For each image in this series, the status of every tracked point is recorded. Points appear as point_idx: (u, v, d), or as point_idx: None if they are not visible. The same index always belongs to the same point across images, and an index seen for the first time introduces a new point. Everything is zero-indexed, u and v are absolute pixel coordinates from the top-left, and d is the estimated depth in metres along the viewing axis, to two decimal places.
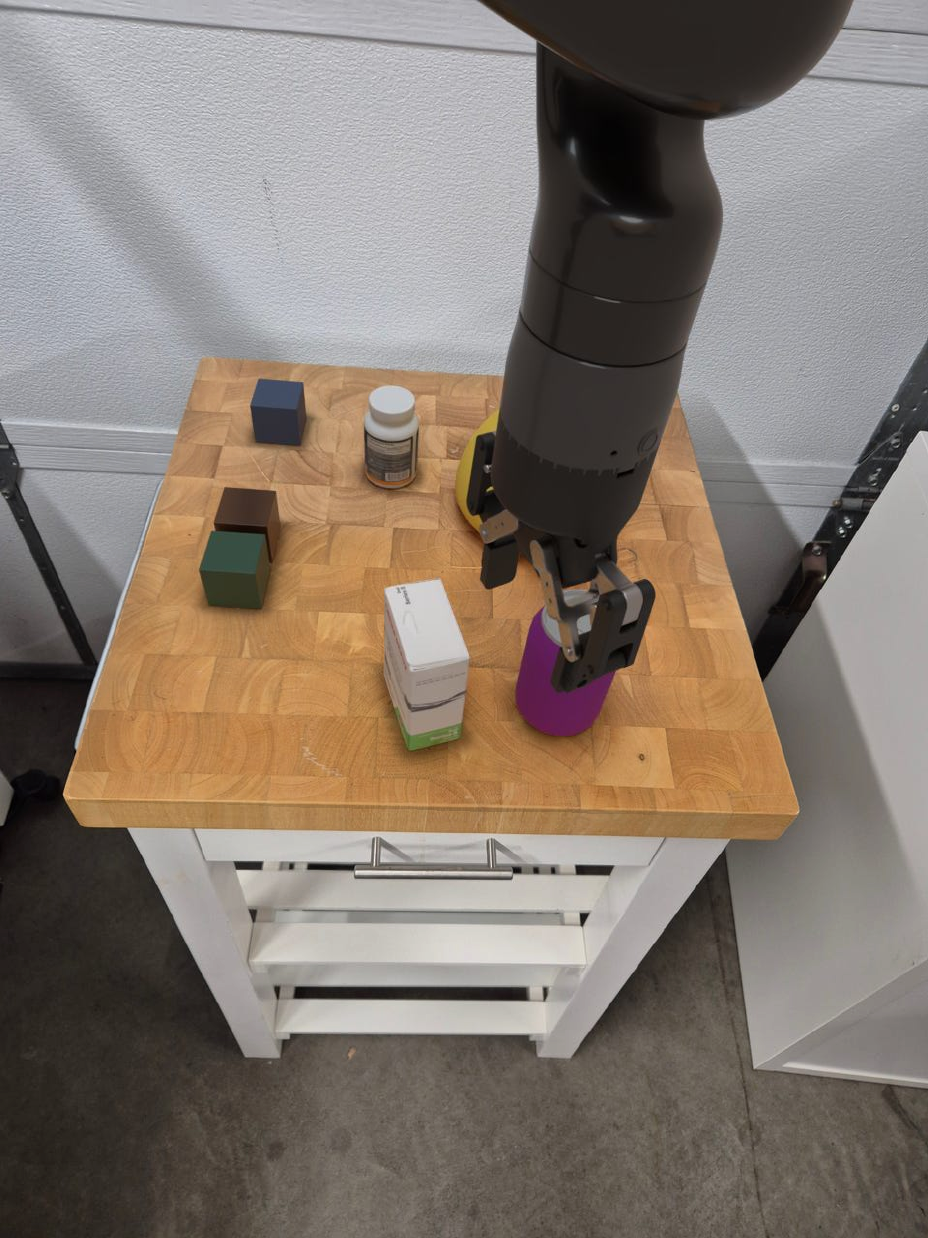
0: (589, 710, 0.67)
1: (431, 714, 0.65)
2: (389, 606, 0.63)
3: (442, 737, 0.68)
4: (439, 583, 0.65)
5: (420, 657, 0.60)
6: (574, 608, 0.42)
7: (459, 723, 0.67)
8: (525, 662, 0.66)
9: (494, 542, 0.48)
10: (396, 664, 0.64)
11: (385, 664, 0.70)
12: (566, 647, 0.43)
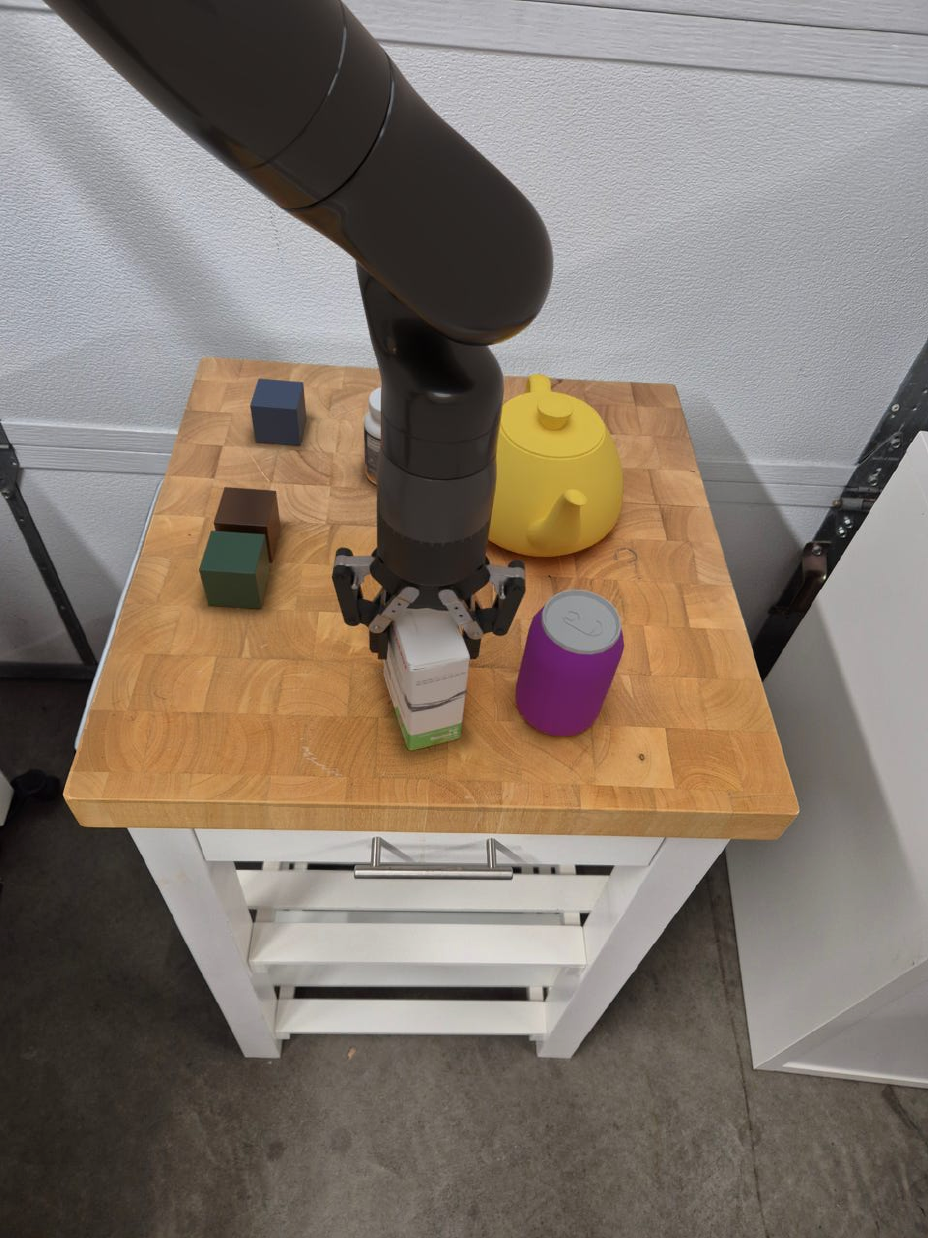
0: (589, 710, 0.67)
1: (431, 714, 0.65)
2: None
3: (442, 737, 0.68)
4: None
5: (420, 657, 0.60)
6: (472, 609, 0.60)
7: (459, 723, 0.67)
8: (525, 662, 0.66)
9: None
10: (396, 664, 0.64)
11: (385, 664, 0.70)
12: (474, 633, 0.61)
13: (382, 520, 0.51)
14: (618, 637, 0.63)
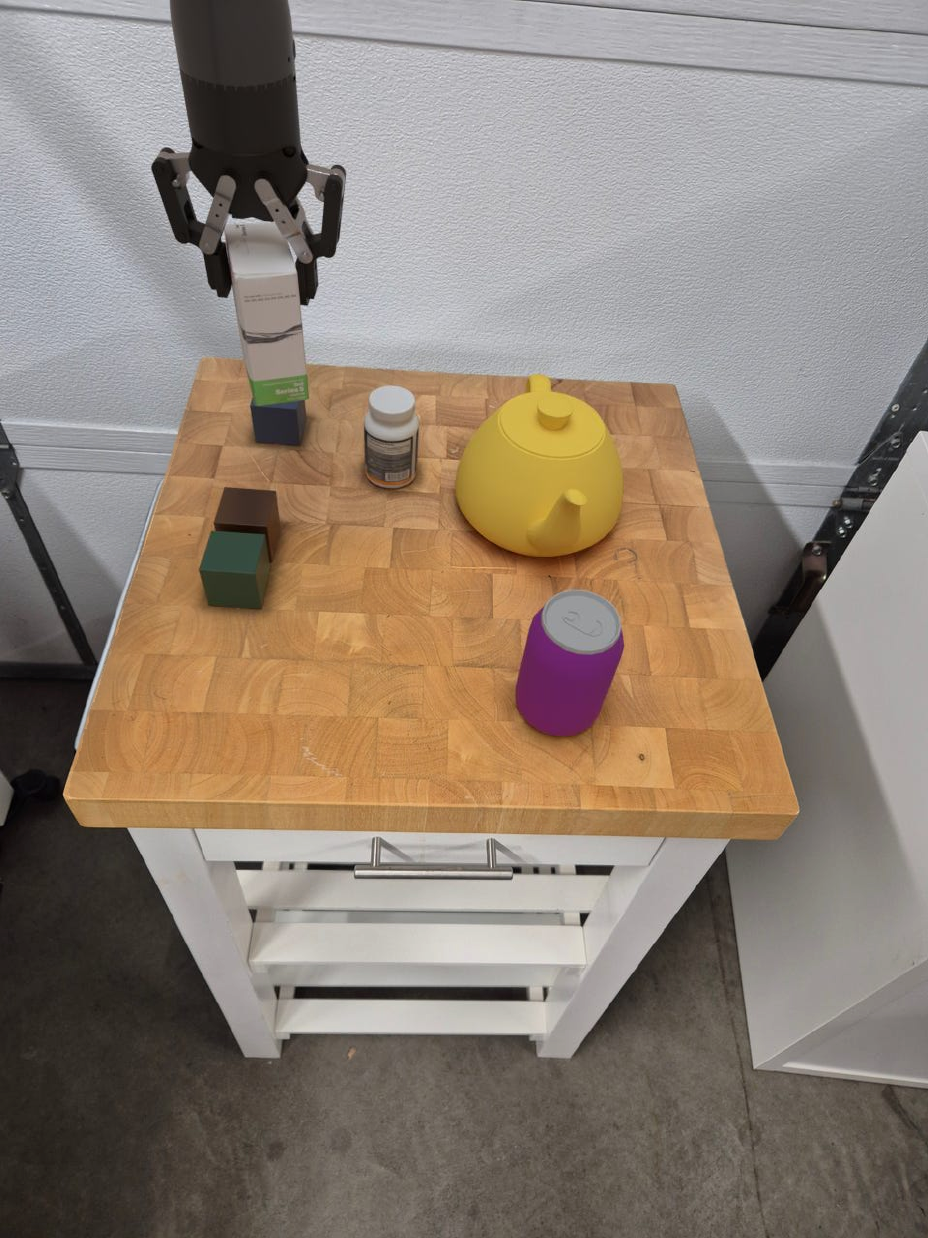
0: (589, 710, 0.67)
1: (269, 352, 0.66)
2: (225, 236, 0.64)
3: (288, 392, 0.69)
4: None
5: (246, 268, 0.61)
6: (297, 221, 0.61)
7: (303, 375, 0.69)
8: (525, 662, 0.66)
9: (216, 250, 0.63)
10: (235, 300, 0.66)
11: None
12: (302, 253, 0.62)
13: (181, 73, 0.53)
14: (618, 637, 0.63)
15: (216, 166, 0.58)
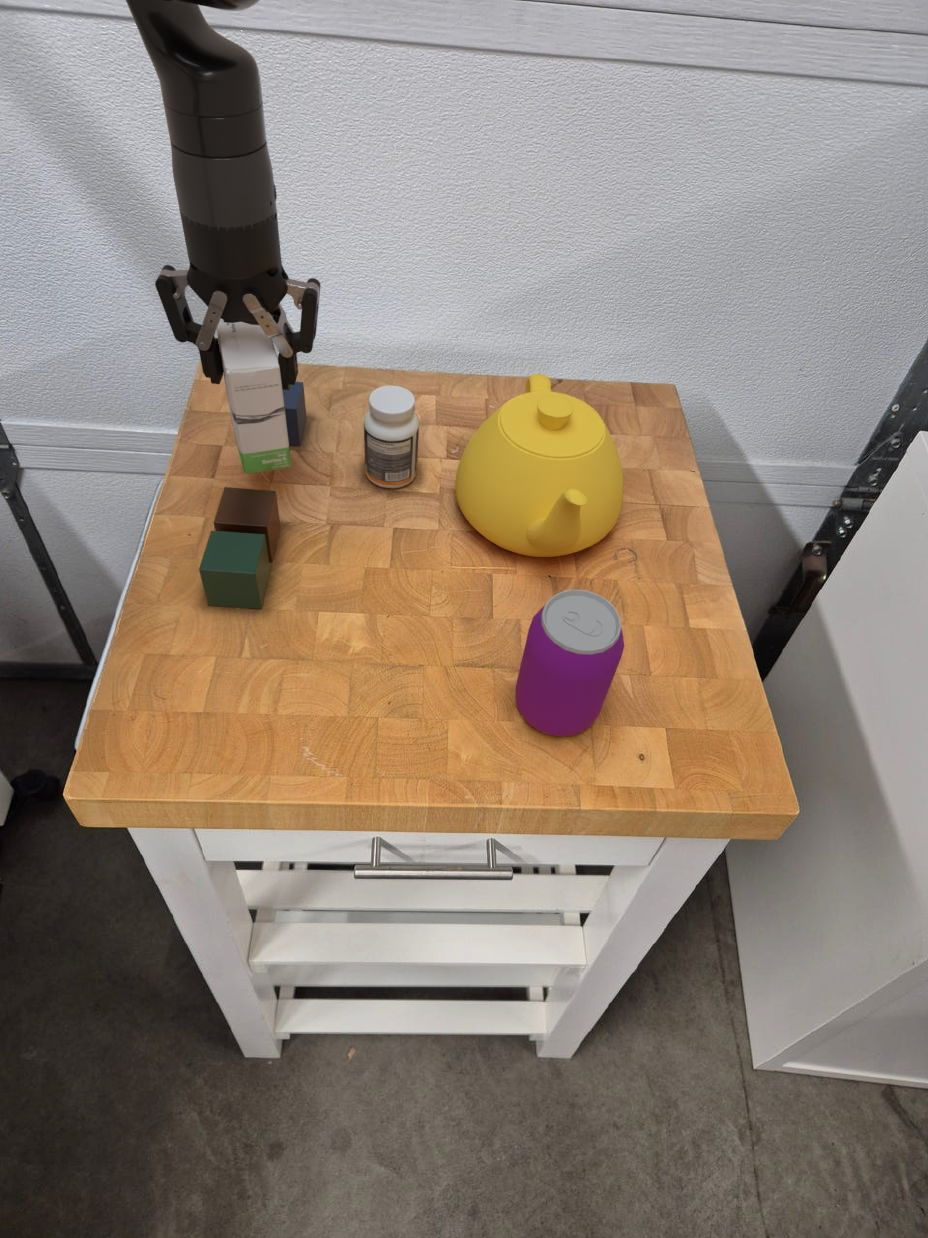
0: (589, 710, 0.67)
1: (256, 430, 0.77)
2: (218, 333, 0.75)
3: (273, 462, 0.80)
4: None
5: (236, 364, 0.72)
6: (279, 324, 0.72)
7: (286, 447, 0.79)
8: (525, 662, 0.66)
9: (210, 346, 0.74)
10: (226, 386, 0.76)
11: None
12: (284, 349, 0.73)
13: (181, 214, 0.64)
14: (618, 637, 0.63)
15: (210, 283, 0.69)
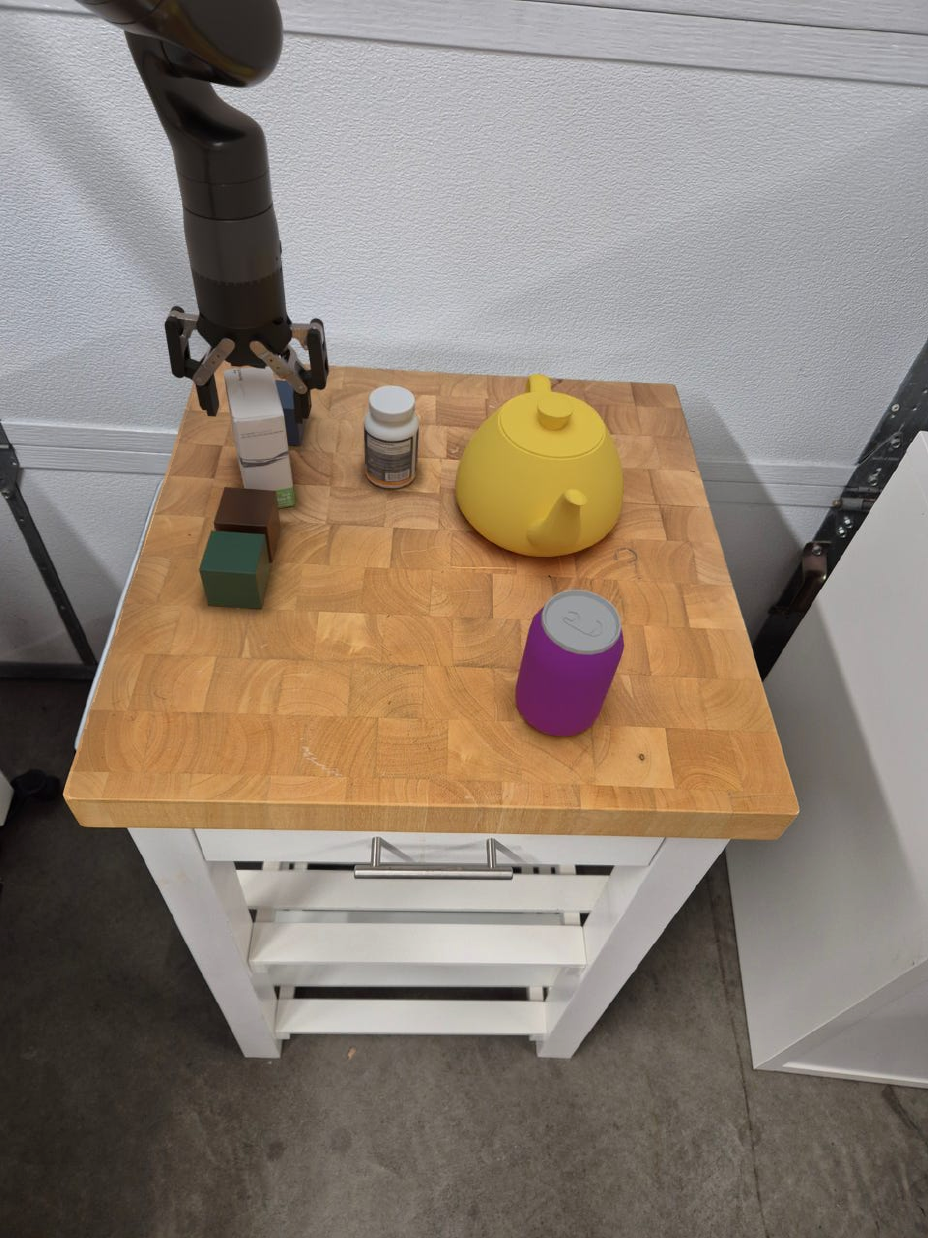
0: (589, 710, 0.67)
1: (262, 473, 0.81)
2: (225, 381, 0.79)
3: (278, 501, 0.84)
4: (269, 368, 0.81)
5: (243, 413, 0.76)
6: (289, 363, 0.75)
7: (290, 487, 0.83)
8: (525, 662, 0.66)
9: (206, 381, 0.77)
10: (233, 431, 0.80)
11: None
12: (298, 387, 0.76)
13: (191, 269, 0.67)
14: (618, 637, 0.63)
15: (218, 330, 0.72)
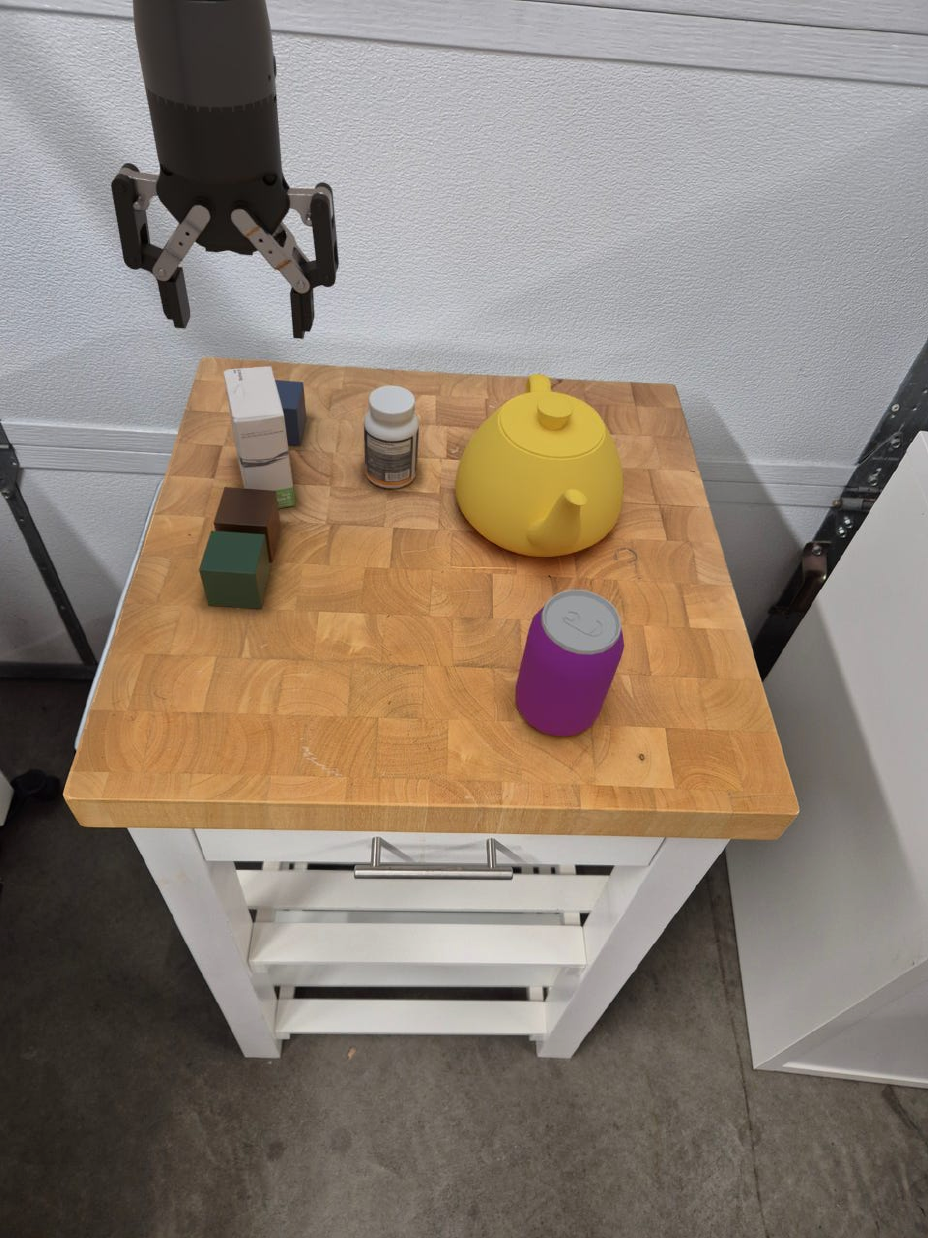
0: (589, 710, 0.67)
1: (262, 473, 0.81)
2: (225, 381, 0.79)
3: (278, 501, 0.84)
4: (269, 368, 0.81)
5: (243, 413, 0.76)
6: (285, 248, 0.55)
7: (290, 487, 0.83)
8: (525, 662, 0.66)
9: (171, 276, 0.56)
10: (233, 431, 0.80)
11: None
12: (298, 282, 0.56)
13: (147, 92, 0.47)
14: (618, 637, 0.63)
15: (187, 195, 0.52)
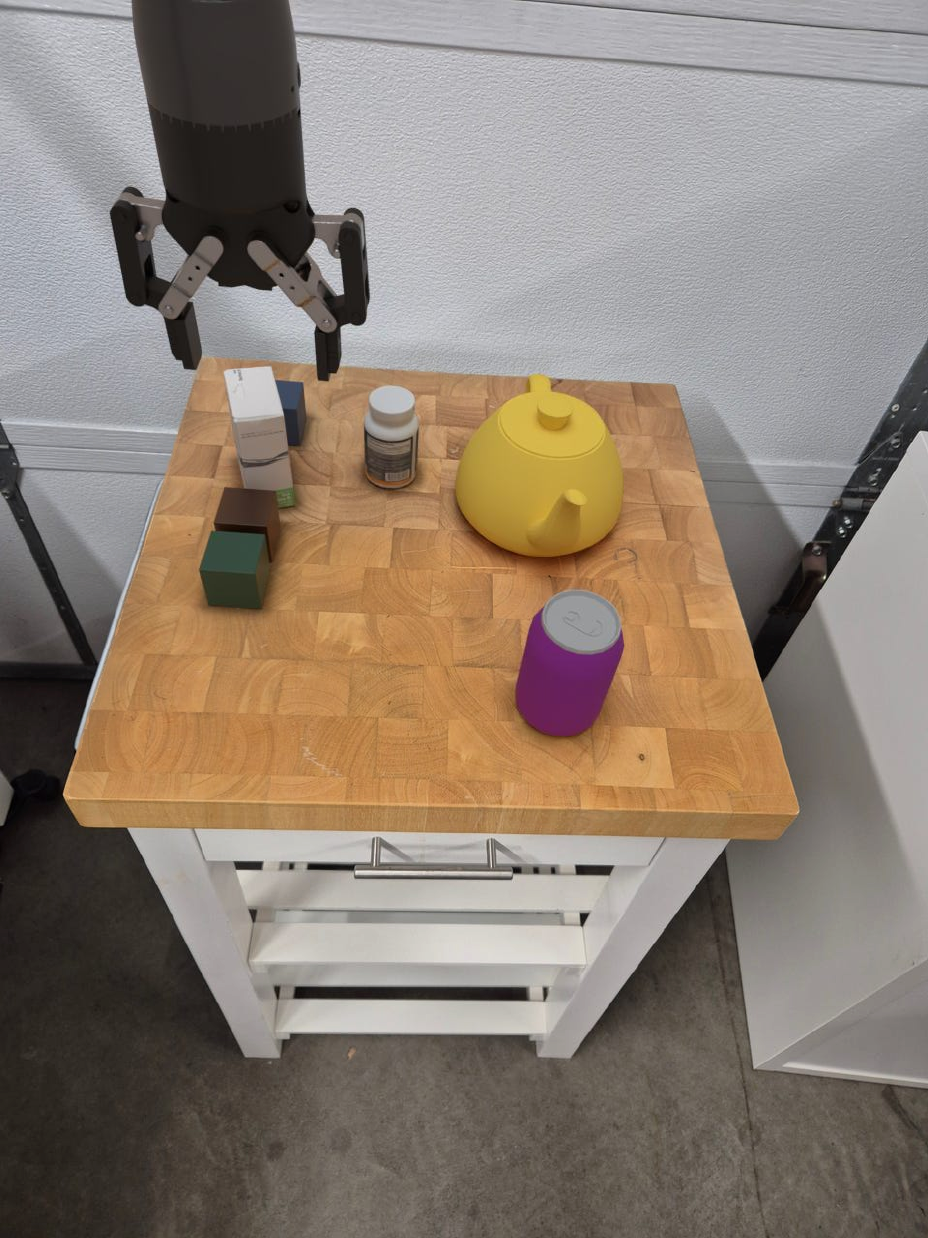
0: (589, 710, 0.67)
1: (262, 473, 0.81)
2: (225, 381, 0.79)
3: (278, 501, 0.84)
4: (269, 368, 0.81)
5: (243, 413, 0.76)
6: (309, 282, 0.48)
7: (290, 487, 0.83)
8: (525, 662, 0.66)
9: (180, 313, 0.50)
10: (233, 431, 0.80)
11: None
12: (323, 321, 0.49)
13: (149, 108, 0.40)
14: (618, 637, 0.63)
15: (197, 224, 0.45)
